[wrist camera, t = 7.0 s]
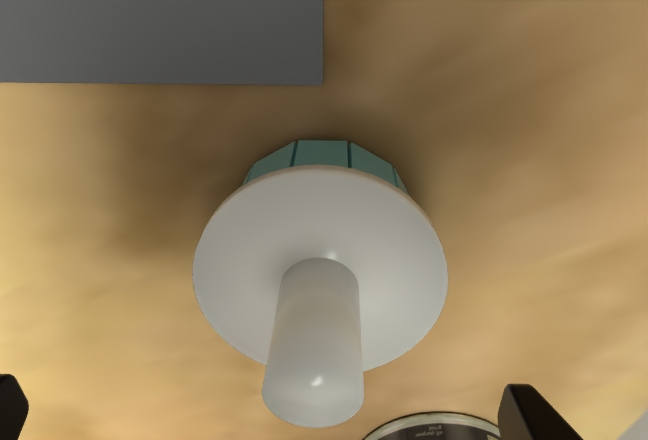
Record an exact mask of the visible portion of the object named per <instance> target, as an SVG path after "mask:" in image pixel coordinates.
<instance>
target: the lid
mask: <svg viewBox="0 0 648 440" xmlns="http://www.w3.org/2000/svg"><path fill="white" fill-rule="evenodd" d="M192 276H193V287H194V291H195V295H196V298H197V301H198V304H199V306H200V308H201V310H202V312H203V314H204V316H205V317H206V319H207V321H208V322H209V324H210V325H211V326H212V327H213V329H214V330H215V331H216V332H217V333H218V334H219V335H220V336H221V337H222V338H223V339H224V340H225V341H226V342H227V343H228V344H229V345H231V346H232V347H233V348H235V349H236V350H237V351H239V352H240V353H242V354H244V355H245V356H247V357H249V358H250V359H253V360H255V361H257V362H259V363H261V364H263V365H266V371H265V377H264V382H263V388H262V396H263V400H264V402H265V404H266V406H267V407H268V409H269V410H270V411H271V412H272V413H273V414H274V415H276V416H277V417H279V418H280V419H282V420H284V421H286V422H288V423H291V424H294V425H298V426H302V427H311V428H321V427H329V426H333V425H337V424H340V423H342V422H345V421H346V420H348V419H350V418H351V417H353V416H354V415H355V414H356V413H357V412H358V411H359V409H360V408H361V406H362V404H363V401H364V383H363V372H364V371H367V370H370V369H373V368H377V367H379V366H381V365H384V364H386V363H388V362H391V361H392V360H394V359H396V358H398V357H400V356H401V355H403V354H404V353H406V352H407V351H409V350H410V349H411V348H413V347H414V346H415V345H416V344H417V343H418V342H419V341H421V340H422V339H423V338H424V337H425V335H426V334H427V333H428V332H429V331H430V329H431V328H432V327H433V325H434V324H435V322H436V320H437V319H438V317H439V315H440V313H441V310H442V308H443V306H444V303H445V299H446V295H447V288H448V270H447V263H446V259H445V255H444V252H443V248H442V245H441V242H440V239H439V237H438V234H437V232H436V230H435V228H434V225H433V224H432V222H431V221H430V219H429V218H428V216H427V215H426V213H425V212H424V211H423V210H422V209H421V207H420V206H419V205H418V204H417V203H416V202H415V201H414V200H413V199H412V198H410V197H409V196H408V195H407V194H406V193H405V192H403V191H402V190H400V189H399V188H397V187H396V186H394V185H392V184H391V183H389V182H387V181H385V180H383V179H381V178H379V177H377V176H375V175H372V174H369V173H366V172H363V171H360V170H357V169H352V168H347V167H342V166H335V165H321V164H318V165H300V166H294V167H288V168H283V169H280V170H276V171H273V172H270V173H266V174H264V175H262V176H260V177H257V178H255V179H253V180H251V181H249V182H248V183H246V184H244V185H243V186H241V187H240V188H238V189H237V190H235V191H234V192H233V193H232V194H231V195H229V196H228V197H227V198H226V199H225V200H224V201H223V202H222V203H221V204H220V206H219V207H218V208H217V209H216V210H215V212H214V213H213V215H212V216H211V218H210V219H209V221H208V223H207V225H206V227H205V229H204V231H203V234H202V236H201V238H200V241H199V243H198V245H197V248H196V251H195V256H194V260H193V271H192Z"/></svg>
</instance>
